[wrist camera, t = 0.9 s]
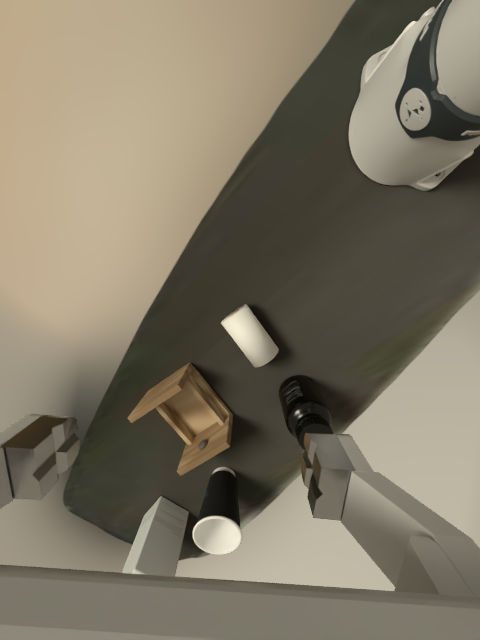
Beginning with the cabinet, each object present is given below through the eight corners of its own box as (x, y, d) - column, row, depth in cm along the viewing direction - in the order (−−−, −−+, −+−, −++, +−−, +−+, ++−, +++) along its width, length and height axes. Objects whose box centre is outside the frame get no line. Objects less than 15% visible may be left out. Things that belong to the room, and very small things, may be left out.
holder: (148, 390, 45) (127, 418, 37) (190, 362, 43) (177, 384, 35) (191, 440, 47) (180, 475, 39) (233, 414, 46) (230, 446, 38)
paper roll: (222, 318, 41) (218, 326, 36) (246, 301, 40) (245, 307, 36) (253, 359, 43) (254, 372, 38) (277, 344, 42) (280, 355, 37)
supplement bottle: (279, 409, 45) (290, 461, 33) (277, 375, 43) (288, 417, 32) (316, 406, 45) (341, 458, 33) (316, 372, 43) (341, 414, 31)
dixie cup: (196, 470, 49) (182, 528, 38) (230, 454, 48) (225, 510, 37) (217, 497, 50) (209, 561, 40) (250, 483, 49) (251, 544, 39)
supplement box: (143, 515, 52) (111, 593, 40) (161, 494, 51) (134, 569, 38) (171, 532, 53) (148, 613, 41) (190, 511, 52) (172, 590, 39)
